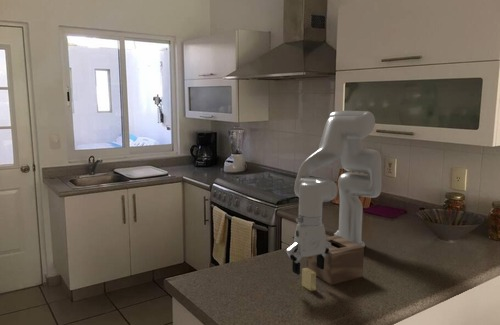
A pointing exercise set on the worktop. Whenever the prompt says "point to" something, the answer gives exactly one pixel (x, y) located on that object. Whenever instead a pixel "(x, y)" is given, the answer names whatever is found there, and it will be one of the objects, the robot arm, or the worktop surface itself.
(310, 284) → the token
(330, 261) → the box
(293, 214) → the worktop surface
